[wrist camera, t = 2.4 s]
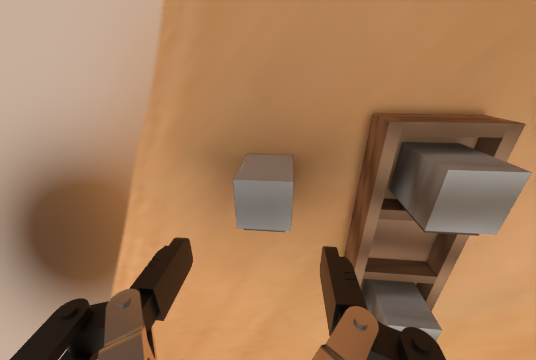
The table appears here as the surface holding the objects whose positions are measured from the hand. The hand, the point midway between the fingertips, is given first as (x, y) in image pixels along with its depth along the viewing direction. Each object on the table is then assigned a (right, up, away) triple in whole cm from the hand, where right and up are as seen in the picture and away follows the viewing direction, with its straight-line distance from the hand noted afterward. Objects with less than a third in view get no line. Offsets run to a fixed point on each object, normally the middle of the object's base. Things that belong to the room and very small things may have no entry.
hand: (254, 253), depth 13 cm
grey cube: (+1, +5, +9) cm, 11 cm away
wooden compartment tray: (+14, -1, +11) cm, 18 cm away
